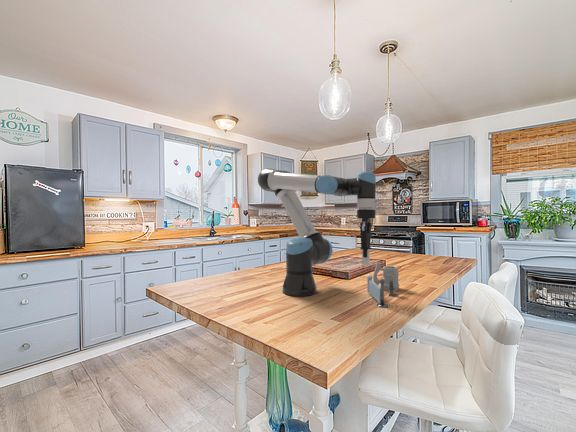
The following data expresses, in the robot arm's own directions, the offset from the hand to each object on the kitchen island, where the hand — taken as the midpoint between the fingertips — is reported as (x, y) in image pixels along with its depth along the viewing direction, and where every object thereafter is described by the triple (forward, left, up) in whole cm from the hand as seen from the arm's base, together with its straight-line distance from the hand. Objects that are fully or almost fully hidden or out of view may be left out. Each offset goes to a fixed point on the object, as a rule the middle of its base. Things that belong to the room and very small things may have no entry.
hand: (365, 264), depth 118 cm
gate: (+4, -3, -13) cm, 14 cm away
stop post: (+10, +5, -13) cm, 17 cm away
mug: (+6, +15, -13) cm, 21 cm away
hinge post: (+8, -11, -13) cm, 19 cm away
